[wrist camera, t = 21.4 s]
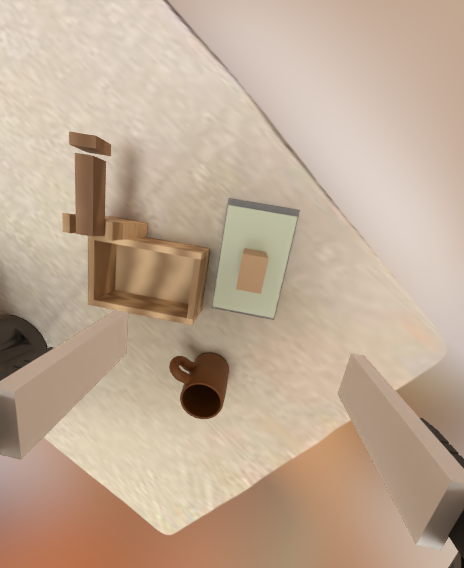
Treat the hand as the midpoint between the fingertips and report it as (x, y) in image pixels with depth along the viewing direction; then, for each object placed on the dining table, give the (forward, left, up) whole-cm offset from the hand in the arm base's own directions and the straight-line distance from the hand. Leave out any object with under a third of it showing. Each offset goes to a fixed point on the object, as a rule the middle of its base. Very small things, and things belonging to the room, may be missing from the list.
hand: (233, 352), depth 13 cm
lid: (+1, +1, -27) cm, 27 cm away
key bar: (-23, +8, -20) cm, 32 cm away
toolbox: (-17, -3, -29) cm, 33 cm away
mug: (-5, -21, -29) cm, 36 cm away
